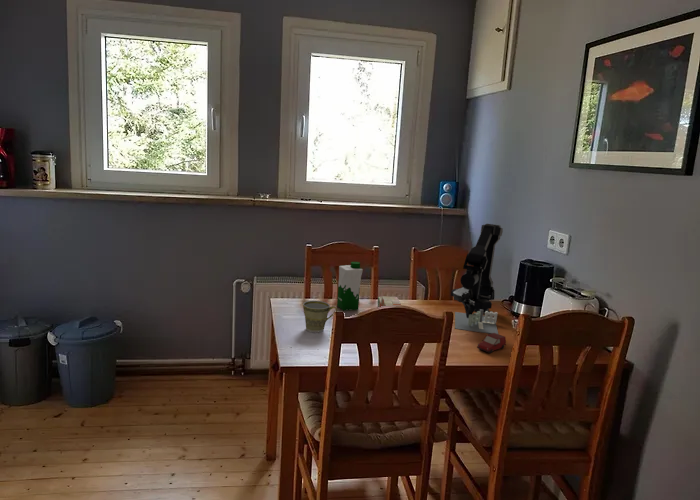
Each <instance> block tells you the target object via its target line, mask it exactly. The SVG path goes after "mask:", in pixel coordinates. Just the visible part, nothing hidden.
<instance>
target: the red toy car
mask: <svg viewBox="0 0 700 500" xmlns="http://www.w3.org/2000/svg"><path fill="white" fill-rule="evenodd" d="M506 343H507V340H506V336H505V335H501V334H499V333H498V334H496V333H491V334H490V333H487V335H485V337H484V339H483V340H481V342H479V343H477V346H476V348H477V349H478V350H481V351H484V352H486V353H488V354H491V353H493V351H495V350H498V349H500V350H503V349H504V348H505V346H507V345H506Z"/></svg>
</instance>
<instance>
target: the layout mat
mask: <svg viewBox="0 0 700 500" xmlns="http://www.w3.org/2000/svg"><path fill="white" fill-rule="evenodd" d="M472 315H473V314H472ZM484 317H485V315H483V319H482V322H476V324H473V323H472V325H471V326H470V325H468V320H469V318H467V317H466V312H460V311H459V312H458V311H454V329H456V330H460V331H461V330H462V331H469V332H477V333H481V334H482V333H483V334H491V333H496V334H499V330H498V327H497V322H496V323H494V321H492V322H491V323H490V322H489V320H487V322H484ZM488 317H490V315H488ZM492 318H494V316H492Z"/></svg>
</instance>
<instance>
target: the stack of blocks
mask: <svg viewBox="0 0 700 500" xmlns="http://www.w3.org/2000/svg"><path fill="white" fill-rule="evenodd" d="M392 305H401V306H402V303H401V302H400V299H399V298H398V297H397V296H384V295H382V296H378V298H377V308H378V307H381V306H392Z"/></svg>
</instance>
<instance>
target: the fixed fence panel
mask: <svg viewBox="0 0 700 500" xmlns="http://www.w3.org/2000/svg"><path fill="white" fill-rule="evenodd" d="M483 311H484V310H481V309H480V312H481V315H480V322H482V319H483V316H485V317H484V322H487V320H489V322H490V323H491V322H492V321H494V323H496V324H497V319H498V312H497V311H494V312H493V311H489V312H488V311H486V312H485V313H484V312H483ZM488 316H490V317H488ZM492 317H494V318H492Z"/></svg>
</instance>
